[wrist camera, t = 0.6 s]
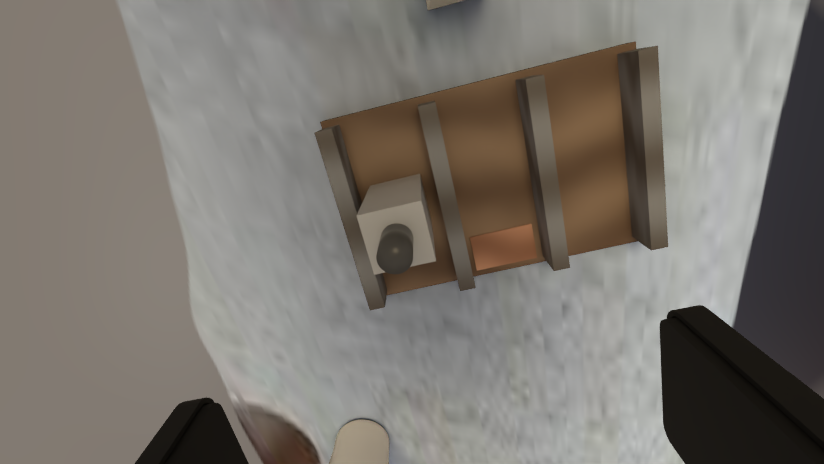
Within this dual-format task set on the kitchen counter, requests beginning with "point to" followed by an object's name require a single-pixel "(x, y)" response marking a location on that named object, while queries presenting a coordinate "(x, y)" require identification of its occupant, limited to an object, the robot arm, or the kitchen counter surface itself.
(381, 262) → the grey plug
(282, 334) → the kitchen counter surface
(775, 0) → the kitchen counter surface
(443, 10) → the kitchen counter surface
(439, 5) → the cream plug
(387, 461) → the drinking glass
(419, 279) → the wooden divided tray
